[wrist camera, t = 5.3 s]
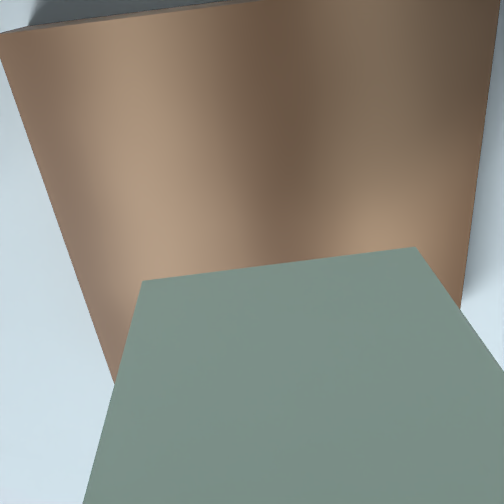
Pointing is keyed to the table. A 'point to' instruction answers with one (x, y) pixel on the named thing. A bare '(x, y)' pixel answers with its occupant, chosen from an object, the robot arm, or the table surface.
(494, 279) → the table surface
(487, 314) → the table surface
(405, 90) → the walnut base
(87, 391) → the table surface
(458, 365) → the sage block
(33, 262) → the table surface
